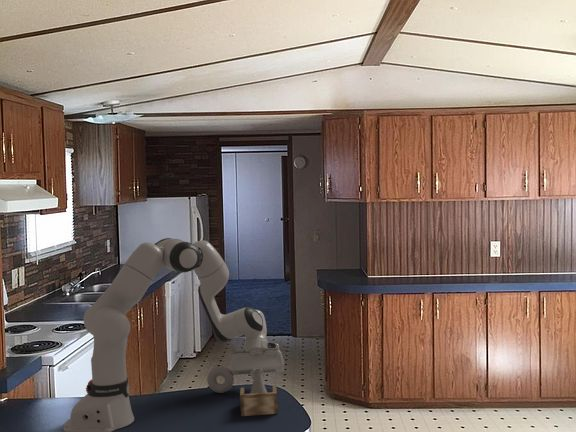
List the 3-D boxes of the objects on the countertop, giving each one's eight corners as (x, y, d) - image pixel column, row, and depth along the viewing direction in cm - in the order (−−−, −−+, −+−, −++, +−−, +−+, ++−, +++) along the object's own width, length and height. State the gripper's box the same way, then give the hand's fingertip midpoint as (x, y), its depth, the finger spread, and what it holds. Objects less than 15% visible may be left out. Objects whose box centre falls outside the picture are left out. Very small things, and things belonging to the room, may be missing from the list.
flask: (266, 400, 223) (264, 372, 223) (246, 400, 225) (245, 372, 224) (270, 393, 230) (269, 366, 230) (251, 393, 232) (250, 366, 231)
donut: (207, 394, 232) (205, 368, 232) (208, 391, 236) (207, 365, 235) (233, 394, 232) (232, 367, 231) (235, 391, 235) (233, 364, 234)
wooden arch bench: (240, 416, 209) (239, 395, 209) (241, 404, 220) (240, 384, 220) (278, 413, 210) (277, 393, 209) (276, 402, 221) (275, 382, 220)
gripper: (228, 347, 236) (228, 380, 227) (282, 343, 237) (285, 377, 228) (229, 355, 241) (229, 388, 232) (282, 352, 242) (285, 385, 233)
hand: (257, 383), depth 230 cm, fingers closed
